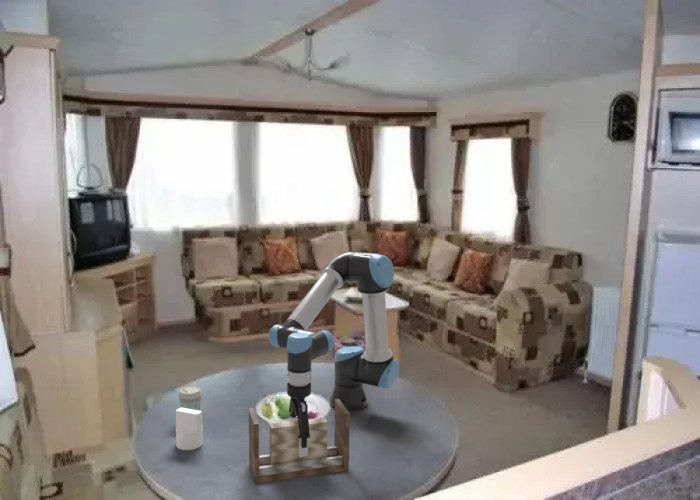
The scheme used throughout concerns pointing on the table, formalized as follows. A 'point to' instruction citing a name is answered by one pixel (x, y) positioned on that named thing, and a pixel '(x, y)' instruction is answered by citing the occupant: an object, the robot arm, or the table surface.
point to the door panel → (297, 441)
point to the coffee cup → (190, 397)
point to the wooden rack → (332, 463)
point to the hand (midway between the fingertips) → (298, 445)
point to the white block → (189, 429)
